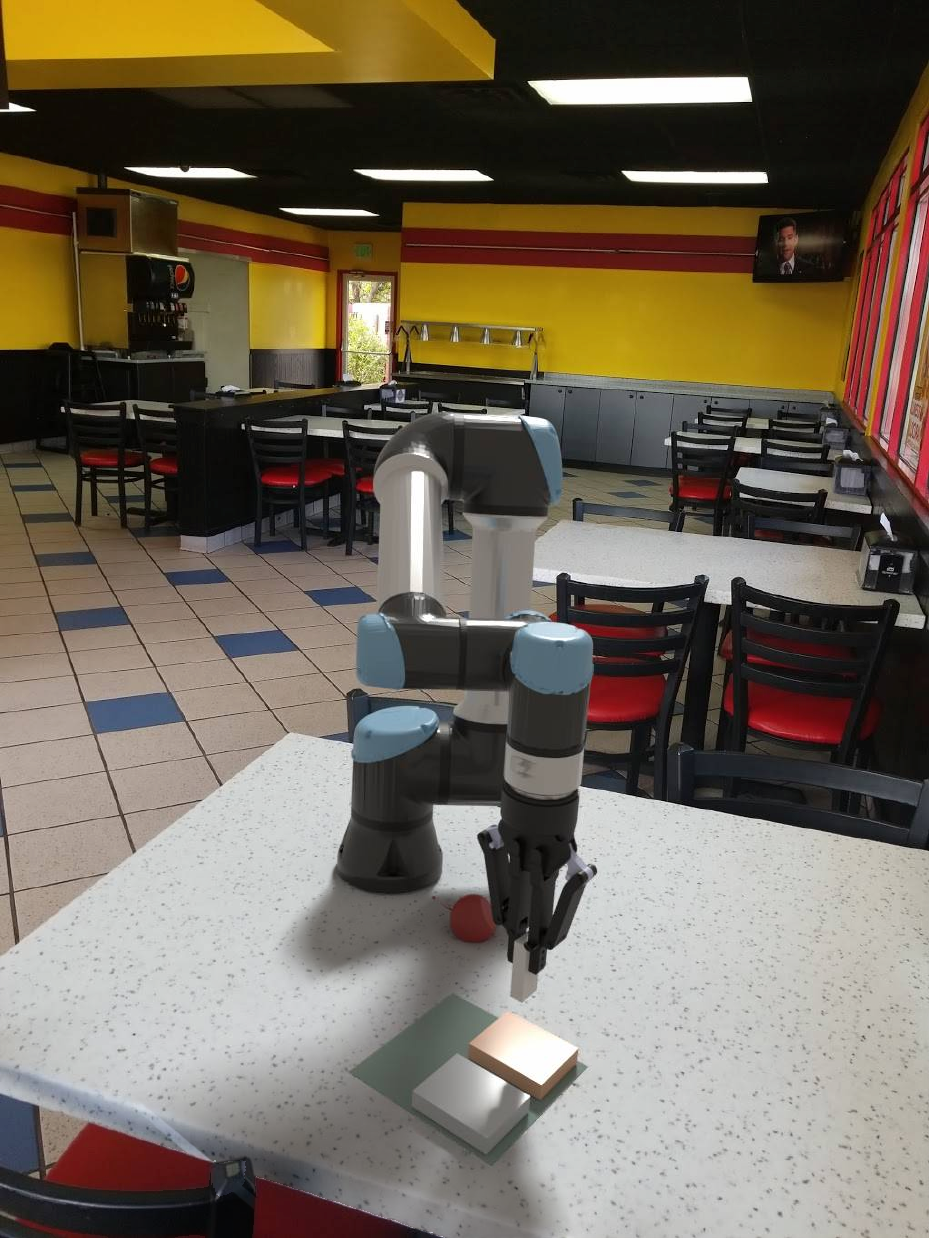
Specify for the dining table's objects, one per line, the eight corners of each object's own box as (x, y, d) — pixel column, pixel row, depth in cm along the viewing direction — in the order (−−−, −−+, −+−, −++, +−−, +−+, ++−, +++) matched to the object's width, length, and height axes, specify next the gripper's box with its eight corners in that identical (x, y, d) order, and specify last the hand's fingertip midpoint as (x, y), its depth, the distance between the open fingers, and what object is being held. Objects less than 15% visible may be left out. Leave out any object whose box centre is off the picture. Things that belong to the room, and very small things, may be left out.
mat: (348, 1076, 97) (348, 1071, 97) (452, 997, 110) (452, 992, 110) (491, 1170, 87) (491, 1165, 87) (587, 1070, 100) (587, 1066, 100)
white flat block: (412, 1090, 92) (487, 1138, 87) (457, 1053, 98) (530, 1096, 93) (411, 1107, 93) (486, 1156, 88) (456, 1069, 98) (528, 1112, 93)
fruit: (462, 934, 127) (435, 884, 125) (501, 919, 125) (474, 868, 124) (456, 961, 121) (427, 909, 119) (497, 946, 119) (468, 893, 118)
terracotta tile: (469, 1043, 99) (541, 1084, 94) (507, 1010, 105) (578, 1048, 100) (467, 1059, 100) (540, 1101, 95) (506, 1025, 105) (576, 1064, 100)
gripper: (464, 775, 93) (451, 983, 100) (579, 818, 86) (557, 1041, 92) (508, 752, 99) (493, 951, 105) (620, 792, 92) (596, 1003, 98)
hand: (523, 993), depth 99 cm, fingers closed
